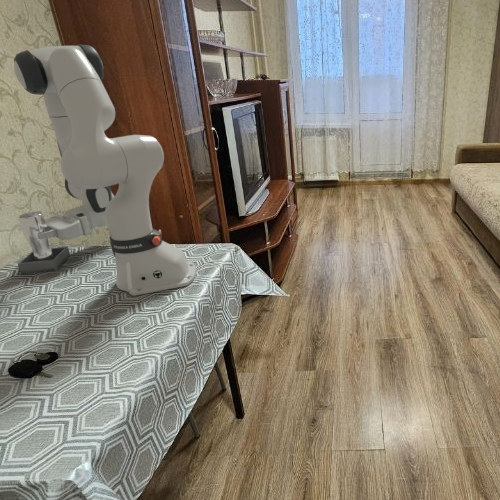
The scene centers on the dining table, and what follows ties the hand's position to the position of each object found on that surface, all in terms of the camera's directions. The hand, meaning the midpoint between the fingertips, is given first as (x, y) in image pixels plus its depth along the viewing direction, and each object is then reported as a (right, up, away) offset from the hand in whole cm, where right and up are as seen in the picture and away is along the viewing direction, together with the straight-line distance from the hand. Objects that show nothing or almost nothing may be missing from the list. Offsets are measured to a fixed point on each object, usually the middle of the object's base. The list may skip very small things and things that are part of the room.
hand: (33, 234), depth 118 cm
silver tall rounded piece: (+1, -8, +4) cm, 9 cm away
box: (+1, -10, +5) cm, 11 cm away
